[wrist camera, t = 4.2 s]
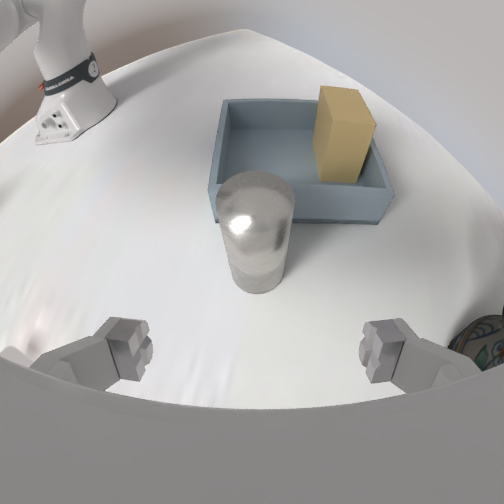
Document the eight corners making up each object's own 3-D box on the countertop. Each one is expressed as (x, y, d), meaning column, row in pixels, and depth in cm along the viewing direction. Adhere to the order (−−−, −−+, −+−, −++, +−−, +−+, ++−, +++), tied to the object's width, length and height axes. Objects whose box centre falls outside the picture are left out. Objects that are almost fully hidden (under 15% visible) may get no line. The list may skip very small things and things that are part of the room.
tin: (230, 293, 29) (211, 232, 18) (232, 246, 31) (219, 171, 21) (284, 294, 29) (297, 232, 18) (282, 246, 31) (292, 170, 21)
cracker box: (319, 181, 35) (333, 119, 26) (312, 142, 38) (320, 85, 29) (355, 183, 34) (376, 124, 26) (344, 144, 38) (357, 89, 29)
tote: (215, 222, 33) (207, 190, 28) (227, 130, 41) (223, 99, 36) (377, 224, 32) (394, 194, 27) (349, 133, 41) (357, 104, 35)
